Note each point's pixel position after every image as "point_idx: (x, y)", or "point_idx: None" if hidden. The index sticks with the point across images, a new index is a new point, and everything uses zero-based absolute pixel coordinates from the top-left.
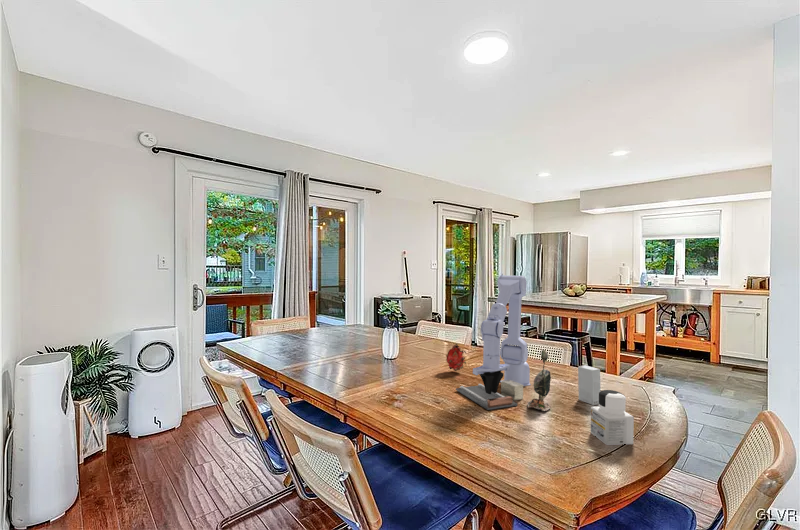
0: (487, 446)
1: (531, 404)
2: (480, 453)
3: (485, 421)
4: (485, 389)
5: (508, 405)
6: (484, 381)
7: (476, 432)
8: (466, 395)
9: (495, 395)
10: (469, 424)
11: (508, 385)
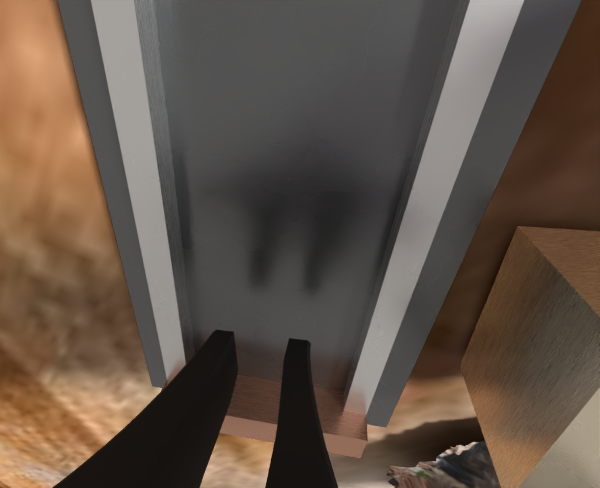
0: (47, 479)
1: (422, 485)
2: (17, 484)
3: (105, 410)
4: (197, 356)
5: None
6: (132, 452)
7: (35, 436)
8: (89, 115)
9: (377, 278)
10: (21, 396)
11: (536, 429)
